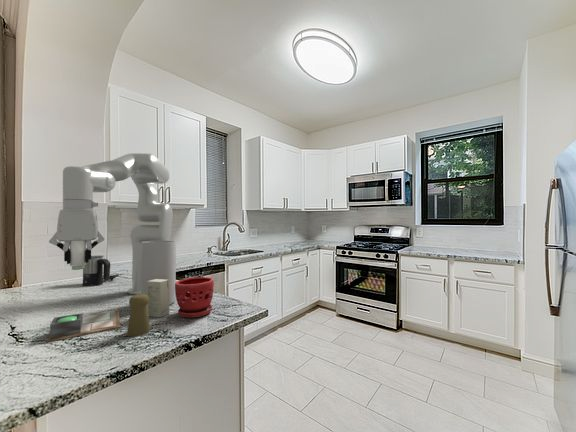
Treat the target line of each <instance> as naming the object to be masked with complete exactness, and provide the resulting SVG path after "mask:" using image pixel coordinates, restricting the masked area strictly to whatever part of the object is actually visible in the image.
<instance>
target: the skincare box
mask: <svg viewBox="0 0 576 432" xmlns="http://www.w3.org/2000/svg"><path fill="white" fill-rule="evenodd" d="M147 295H148V297H149V303H148V304H147V310H148V317H157V318H162V317H163V316H164V317H165V316H167V315H169V314H170V305H169V280H166V279H154V280H150V281H147Z"/></svg>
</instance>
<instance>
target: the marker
mask: <svg viewBox="0 0 576 432" xmlns="http://www.w3.org/2000/svg"><path fill="white" fill-rule="evenodd" d="M86 248H87V245H86V241H83V240H82V238H73V240H72V241H70V246H69V249H70V264H69V266H70V267H71V270H73V271H77V270H83V269H84V265H86V262H85V251H86Z"/></svg>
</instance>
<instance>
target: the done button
mask: <svg viewBox="0 0 576 432" xmlns="http://www.w3.org/2000/svg"><path fill="white" fill-rule="evenodd" d="M71 320H77V317H76V316H69V317H64V318H61V319H59V320H58V321H57V323H59V322H65V321H71Z"/></svg>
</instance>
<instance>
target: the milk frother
mask: <svg viewBox="0 0 576 432" xmlns="http://www.w3.org/2000/svg"><path fill="white" fill-rule="evenodd" d="M119 275H120V274H113V275H111V261H110V260H109V259H107V258H104V255H91V259H89V262H88V263H86V265H84V269H82V284H81V285H82V286H83V287H88V286H97V285H101V284H104V282H107V281H109V280H110V281H113V280H114V279H116V278H117V277H119Z"/></svg>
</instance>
